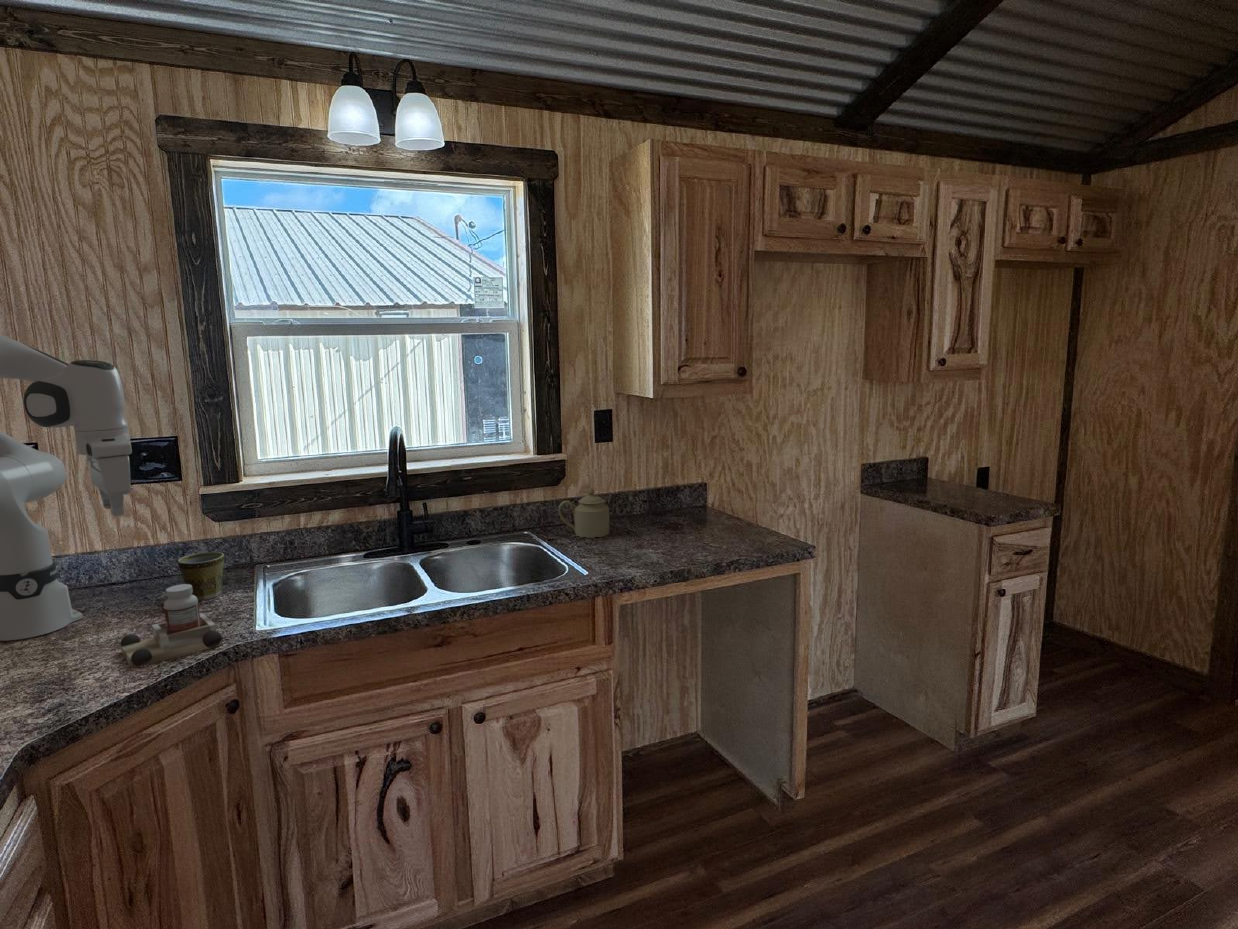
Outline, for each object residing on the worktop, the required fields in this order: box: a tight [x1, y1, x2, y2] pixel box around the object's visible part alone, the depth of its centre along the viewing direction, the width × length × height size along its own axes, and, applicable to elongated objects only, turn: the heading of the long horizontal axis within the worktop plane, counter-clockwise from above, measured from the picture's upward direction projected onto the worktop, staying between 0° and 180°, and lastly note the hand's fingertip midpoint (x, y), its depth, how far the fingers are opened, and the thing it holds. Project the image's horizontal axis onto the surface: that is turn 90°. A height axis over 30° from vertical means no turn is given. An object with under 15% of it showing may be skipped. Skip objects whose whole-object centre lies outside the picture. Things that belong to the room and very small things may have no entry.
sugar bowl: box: [558, 487, 610, 539], centre depth 236 cm, size 15×11×15 cm
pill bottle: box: [163, 583, 201, 635], centre depth 155 cm, size 6×6×11 cm
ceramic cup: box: [177, 551, 225, 601], centre depth 187 cm, size 13×10×10 cm
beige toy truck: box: [120, 612, 223, 669], centre depth 155 cm, size 11×16×4 cm
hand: (113, 511), depth 150 cm, fingers open, 8 cm apart
